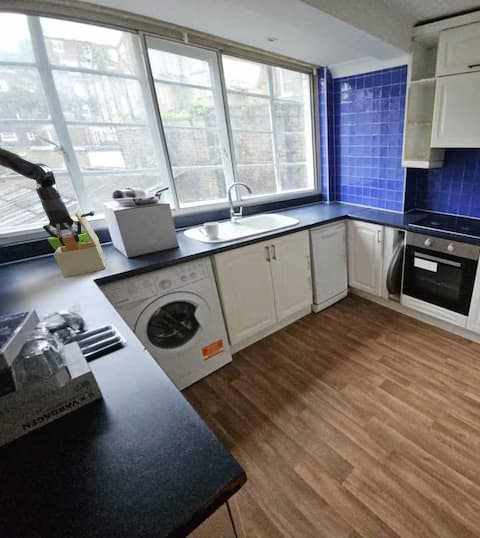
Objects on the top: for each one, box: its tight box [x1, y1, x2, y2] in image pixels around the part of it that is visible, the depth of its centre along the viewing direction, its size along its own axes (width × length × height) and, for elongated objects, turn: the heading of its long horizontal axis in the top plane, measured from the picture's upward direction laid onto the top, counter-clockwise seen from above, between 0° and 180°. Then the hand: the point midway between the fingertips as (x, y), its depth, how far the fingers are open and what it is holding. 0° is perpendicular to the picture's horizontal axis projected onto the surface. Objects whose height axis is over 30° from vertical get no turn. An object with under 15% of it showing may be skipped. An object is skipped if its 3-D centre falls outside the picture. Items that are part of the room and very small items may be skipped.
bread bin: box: [53, 241, 108, 278], centre depth 148 cm, size 16×14×12 cm
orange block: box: [62, 232, 81, 252], centre depth 144 cm, size 4×4×9 cm
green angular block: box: [47, 231, 92, 251], centre depth 167 cm, size 14×14×13 cm
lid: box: [74, 209, 100, 246], centre depth 147 cm, size 16×14×6 cm
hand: (71, 243), depth 144 cm, fingers closed on orange block, 4 cm apart
